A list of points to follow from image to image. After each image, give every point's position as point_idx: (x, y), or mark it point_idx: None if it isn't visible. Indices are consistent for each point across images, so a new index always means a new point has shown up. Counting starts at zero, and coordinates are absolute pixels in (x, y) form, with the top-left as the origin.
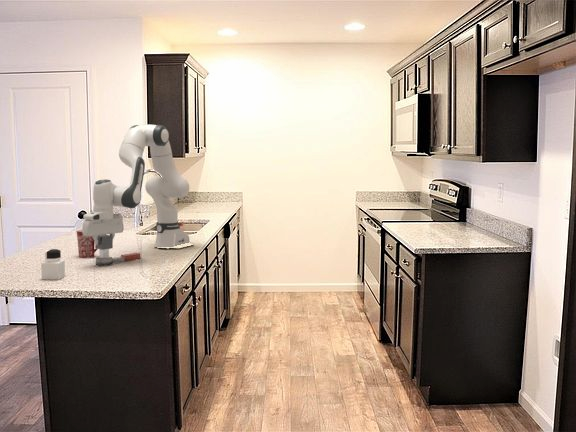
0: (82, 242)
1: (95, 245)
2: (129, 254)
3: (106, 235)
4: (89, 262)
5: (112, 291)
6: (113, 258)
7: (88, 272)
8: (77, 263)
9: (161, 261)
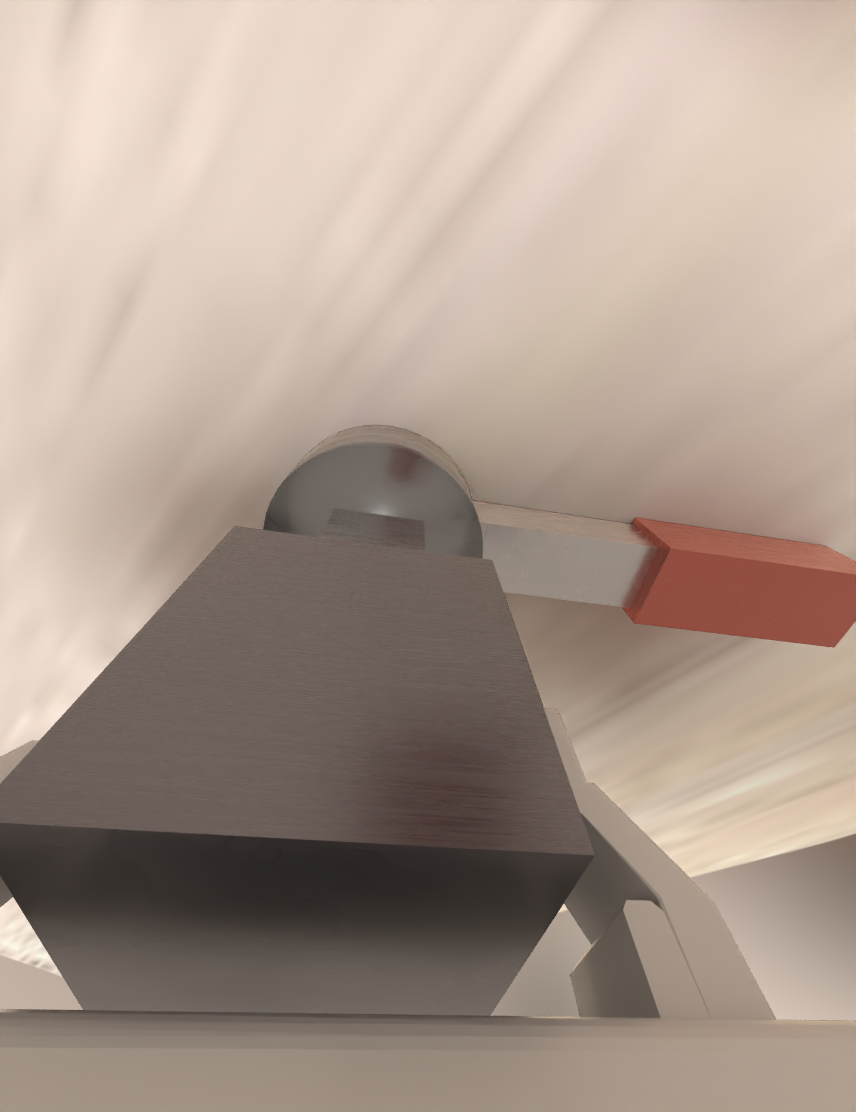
0: None
1: (207, 568)
2: (737, 602)
3: (390, 981)
4: (343, 248)
5: (8, 955)
6: (499, 570)
7: (61, 656)
8: (161, 123)
9: (721, 770)
